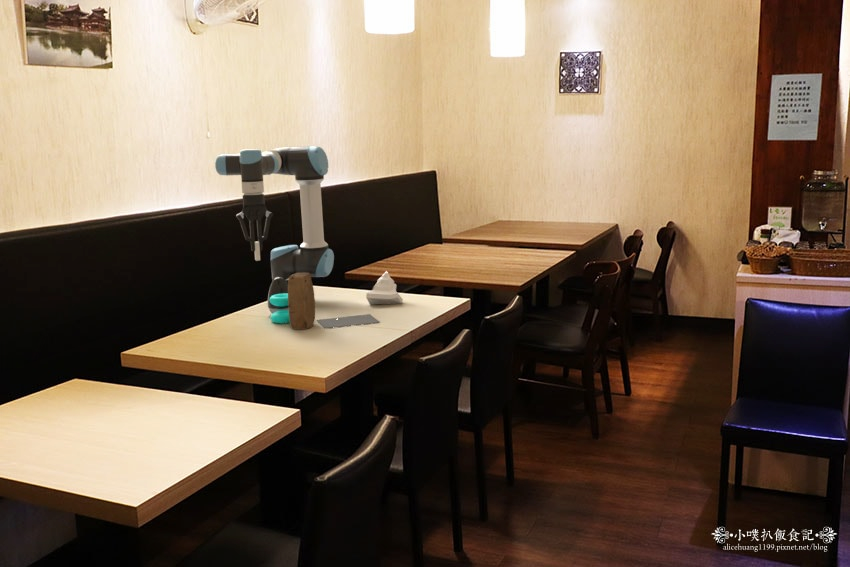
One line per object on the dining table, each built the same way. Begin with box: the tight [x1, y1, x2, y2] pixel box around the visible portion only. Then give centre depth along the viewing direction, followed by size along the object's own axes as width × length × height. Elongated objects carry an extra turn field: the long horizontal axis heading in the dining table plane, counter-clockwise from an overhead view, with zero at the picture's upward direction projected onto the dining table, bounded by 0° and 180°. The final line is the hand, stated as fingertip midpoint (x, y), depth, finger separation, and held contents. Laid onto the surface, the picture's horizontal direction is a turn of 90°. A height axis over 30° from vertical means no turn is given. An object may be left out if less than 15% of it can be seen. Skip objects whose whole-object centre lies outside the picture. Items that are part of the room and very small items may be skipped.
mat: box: [316, 313, 380, 329], centre depth 298 cm, size 14×21×1 cm, turn 110°
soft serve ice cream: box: [365, 270, 404, 305], centre depth 327 cm, size 12×15×14 cm
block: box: [288, 272, 316, 330], centre depth 290 cm, size 11×8×20 cm
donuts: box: [269, 293, 290, 324], centre depth 301 cm, size 10×10×10 cm
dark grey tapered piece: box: [267, 277, 289, 315], centre depth 311 cm, size 10×10×15 cm
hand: (257, 259), depth 282 cm, fingers closed
